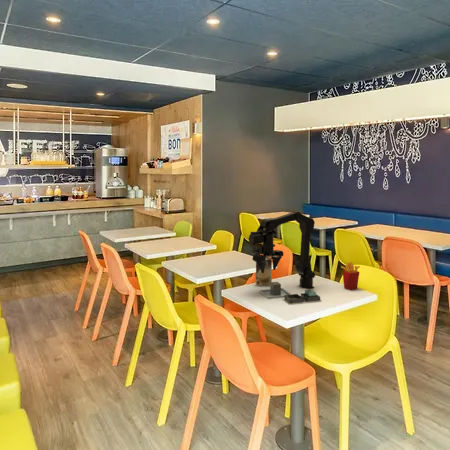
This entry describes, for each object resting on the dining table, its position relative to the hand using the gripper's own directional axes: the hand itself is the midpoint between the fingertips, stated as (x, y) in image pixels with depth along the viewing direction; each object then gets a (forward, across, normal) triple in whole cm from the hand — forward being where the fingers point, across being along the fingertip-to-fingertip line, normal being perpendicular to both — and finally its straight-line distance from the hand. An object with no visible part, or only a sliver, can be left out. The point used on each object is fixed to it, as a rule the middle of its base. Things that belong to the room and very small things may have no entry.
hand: (268, 271), depth 232 cm
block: (+12, 0, +5) cm, 13 cm away
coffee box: (+13, -9, -12) cm, 20 cm away
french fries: (+13, -38, +25) cm, 47 cm away
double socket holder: (+12, -1, +21) cm, 25 cm away
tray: (+12, 0, +5) cm, 13 cm away
